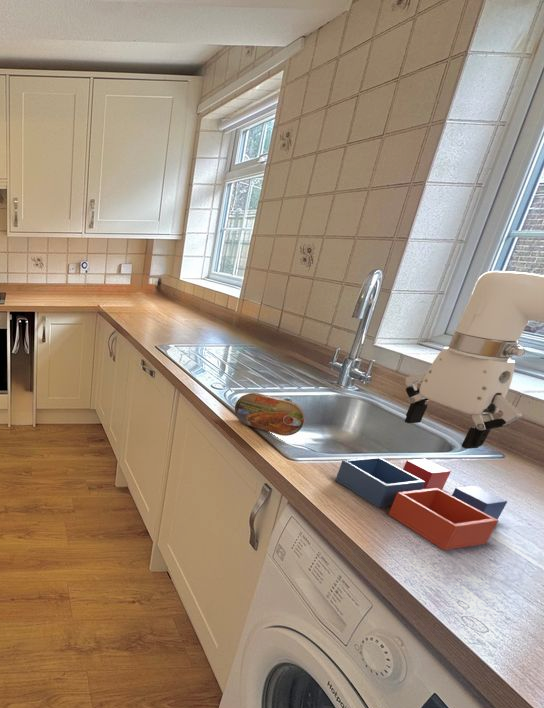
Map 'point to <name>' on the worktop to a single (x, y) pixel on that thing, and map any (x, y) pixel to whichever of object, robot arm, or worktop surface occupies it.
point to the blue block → (481, 500)
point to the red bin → (442, 518)
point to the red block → (427, 472)
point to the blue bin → (376, 480)
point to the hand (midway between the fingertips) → (439, 434)
